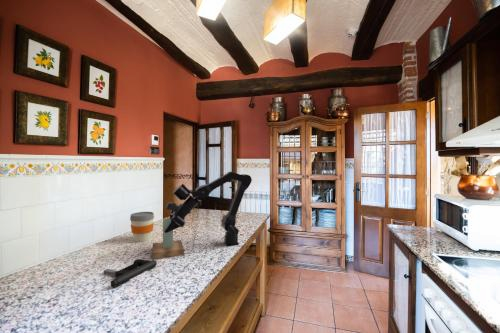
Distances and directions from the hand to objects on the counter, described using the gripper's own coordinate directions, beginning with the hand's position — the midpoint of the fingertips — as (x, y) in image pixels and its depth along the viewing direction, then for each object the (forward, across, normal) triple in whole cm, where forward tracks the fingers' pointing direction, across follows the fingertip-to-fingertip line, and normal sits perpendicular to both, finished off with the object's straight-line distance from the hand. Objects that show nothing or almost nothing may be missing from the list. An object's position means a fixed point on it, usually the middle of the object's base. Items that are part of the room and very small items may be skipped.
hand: (164, 230), depth 118 cm
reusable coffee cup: (+16, -25, 0) cm, 30 cm away
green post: (+5, 0, +7) cm, 8 cm away
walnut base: (+7, 0, +9) cm, 11 cm away
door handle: (+19, +17, -3) cm, 26 cm away
